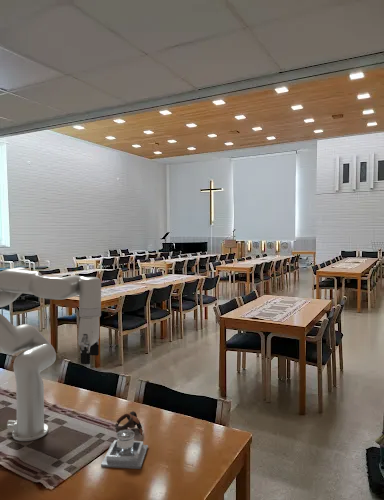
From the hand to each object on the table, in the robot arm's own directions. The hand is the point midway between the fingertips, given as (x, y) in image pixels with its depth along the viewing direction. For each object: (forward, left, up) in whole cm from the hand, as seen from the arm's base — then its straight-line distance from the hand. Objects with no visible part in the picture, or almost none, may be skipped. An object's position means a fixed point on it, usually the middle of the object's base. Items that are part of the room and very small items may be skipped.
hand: (89, 359), depth 144 cm
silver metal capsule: (+15, -8, -30) cm, 34 cm away
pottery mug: (+13, +8, -31) cm, 34 cm away
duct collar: (+15, -8, -30) cm, 35 cm away
